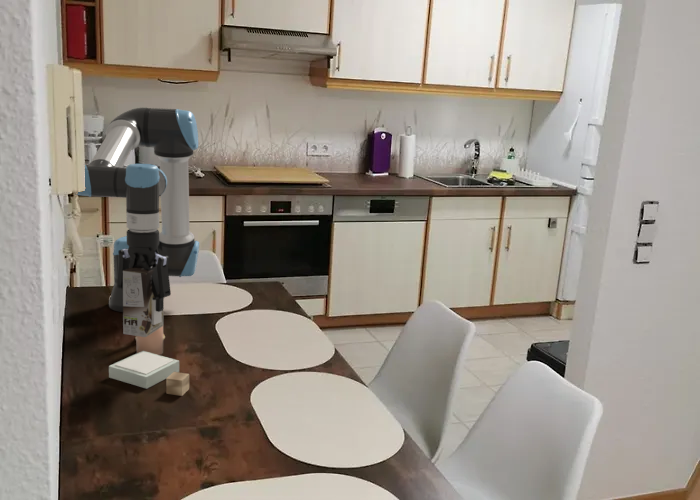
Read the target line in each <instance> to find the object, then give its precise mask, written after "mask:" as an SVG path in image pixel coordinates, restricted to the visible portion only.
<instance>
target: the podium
mask: <svg viewBox="0 0 700 500" xmlns="http://www.w3.org/2000/svg"><path fill="white" fill-rule="evenodd" d="M173 372H179V373H180V360H178V359H175V358H171V357H167V356H163V355H161V354H160V355H157V354H153V353H149V352H146V351H141V352H139V353H137V352H136V353H135V354H132V355H130V356H128V357H126V358H124V359H121V360H119V361H117V362H114V363H113V364H110V365H108V379H109V378H110V379H113V380H117V381H121V382H123V383H127V384H131V385H133V386H137V387H140V388H143V389H149V388H151V387H153V386H155V385H157V384H158V383H160V382H162V381H164V380H166V378H167V377H168V376H170V375H171V374H172V373H173Z"/></svg>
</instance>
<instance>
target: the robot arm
mask: <svg viewBox="0 0 700 500" xmlns="http://www.w3.org/2000/svg"><path fill="white" fill-rule="evenodd" d="M198 133H199V131H198V124H197V120H196V117H195V114H194V113H193V112H192V111H189V110H186V109H185V110H184V109H179V108H160V107H159V108H157V107H155V108H154V107H152V108H151V107H150V108H149V107H137V108H133V109H130V110H126V111H124V112H123V113H120V114H119V115H117V116H116V117H115V118H113V120H111V121H110V122H109V124H108V125H107V128H106V129H105V138H104V140H103V141H102V143H101V145H100V146H99V147H98V149H97V152H96V153H95V154H94V156H93V158H92V159H91V161H90V162H89V163H88V165H86V164H84V165H85V187H86V189H85V191H83V192H78V194H76V195H77V196H83V197H89V198H92V197H103V198H104V197H105V198H106V197H107V198H108V197H109V198H125V202H126V203H125V205H126V216H125V217H126V228H127V230H126V235H125V236H121V237H119V238H117V239H116V240H115V241H114V243H113V252H112V256H113V282H114V283H113V287H112V289H111V293H110V296H109V299H108V308H109V309H110V310H113V311H116V312H120V313H123V270H126V269H128V268H134V267H142V268H144V270H147V271H150V270H154V272H153V274H152V291H153V295H154V298H152V299H151V300H152V325H155V324H158V323H160V322H162V310H163V311H164V308H165V307H164V302H165V301H164V299H165V298H166V297H167V298H168V297H170V296H171V294H172V293H171V284H170V282H171V281H170V277H179V278H181V277H191V276H193V275H195V273H196V270H197V263H198V258H199V251H200V241H198V240H195V234H193V232H192V231H190V185H189V184H190V179H189V177H190V175H189V160H190V158H192V157H193V156H194V151H196V150H198V148H199V134H198ZM138 147H140V148H153V153H154V154H153V155H154V156H155V157H156V158H158V161H159V167H158V166H157V165H156V164H152V163H131V164H128V165H127V166H126V167H124V165H125V163H126V161H127V159H128V158H129V155H130V153H131V152H132V151H133V150H135V149H136V148H138ZM160 210H161V212H160ZM160 213H161V215H160ZM160 217H161V218H160ZM160 219H161V231H160V230H159V229H160ZM149 267H152V268H149ZM158 293H159V294H158Z"/></svg>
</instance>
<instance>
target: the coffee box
mask: <svg viewBox="0 0 700 500" xmlns="http://www.w3.org/2000/svg"><path fill="white" fill-rule="evenodd" d="M149 268H152V267H149ZM153 272H154V270H150V271H147V270H144V268H142V267H134V268H128V269H126V270H123V312H122V321H123V322H122V326H123V327H122V329H123V330H122V331H123V332H122V334H123V335H128V336H129V335H130V336H135V337H136V336H141V337H147V336H148V335H150V334H152V333H153V332H155V331H156V330H158V329H159V328H161V327H162V326H163V327H164V309H163V310H162V322H160V323H158V324H155V325H152V300H151V299H152V298H154V295H153V291H152V274H153ZM158 294H159V293H158Z"/></svg>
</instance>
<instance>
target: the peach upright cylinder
mask: <svg viewBox="0 0 700 500" xmlns="http://www.w3.org/2000/svg"><path fill="white" fill-rule="evenodd" d="M163 334H164V325H163V326H162V327H161V328H159V329H158V330H156V331H155V332H153V333H152V334H150V335H148V336H147V337H141V336H135V337H136V339H135V341H136V343H135V344H136V345H135V346H136V354H137V353H139V352H141V351H146V352H149V353H153V354H157V355H160V356H161V355H162V354H164V340H163Z"/></svg>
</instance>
